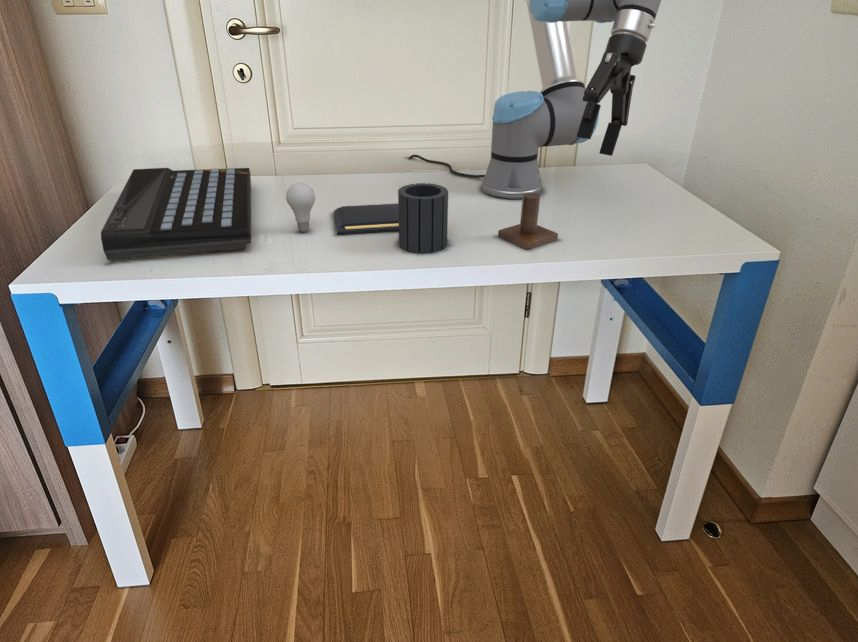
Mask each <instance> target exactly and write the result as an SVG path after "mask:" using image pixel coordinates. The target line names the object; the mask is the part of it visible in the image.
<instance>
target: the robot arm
mask: <svg viewBox="0 0 858 642" xmlns="http://www.w3.org/2000/svg"><path fill="white" fill-rule="evenodd" d="M523 2H525V3H526V7H527V12H528V16H529V18H528V19H529V24H530V28H531V34H532V39H533V44H534V49H535V54H536V61H537V66H538V67H537V68H538V71H539V76H540V83H541V86H542V87H541V90H540V91H537V90H536V91H535V90H526V91H523V90H520V91H514V92H509V93H507V94H503V95H501V96H500V97H498V98H497V99H496V100H495V102H494V104H493V113H492V117H491V120H492V127H491V128H492V129H491V149H490V160H489V163H488V164H487V169H486V172H485V174H469V173H463V172H459V171H456V170H454V169H453V168H452V165H451V164H450V163H447V162H444V161H439V160H432V159H428V158H425V157H423V156H421V155H418V154H411V155H410V156H409V157H408V160H411V159H413V158H417V159H419V160H421V161H423V162H427V163H430V164H437V165H443V166H445V167H448V168H449V172H450V173H452V174H453V175H457V176H461V177H467V178H475V179H478V178H482V181H481V190H482V191H483V193H485V194H487V195H489V196H492V197H495V198H499V199H510V200H522V199H523V194H525V193H536V194H539V195H541V193H542V188H543V182H542V179H541V176H542V172H540V168H539V164H538V154H539V148H545V147H559V146H574V145H576V144H577V145H578V144H583V143H585V142H587V141H589V140H591V139H592V136H593V135H594V133H595V132H596V128H597V126H598V123H599V119H600V110H601V107H602V105H601V104H600V102H601V101H602V100H603V99H604V98H605V96H606V95H607V94H608V92H610V93H611V113H610V114H611V115H610V117H611V119H610V121H609V122H608V123H607V127H606V130H605V133H604V135H603V136H604V137H603V139H602V143H601V146H600V149H599V152H598V153H599V154H600V155H605V156H611V157H612V156H613V155H614V152H615V148H616V145H617V142H618V139H619V135H620V133H621V129H622V126H623V127H627V125H628V122H629V115H630V109H631V101H632V95H633V89H634V85H635V82H636V75H634V74H631V71H632V68H633V67H634V66H638V65H640V64H641V63H642V61H643V59H644V55H645V53H646V50H647V42H648V41H649V39H650V36H651V32H652V30H653V29H654V28H655V27H656V24H655V20H656V17H657V14H658V11H659V9H660V6H661V3H662V0H523ZM589 21H594V22H595V23H598V24H606V23H612V22H613V24H612V26H611V30H610V35H611V36H609V38H608V41H607V43H606V47H605V49H604V52H603V54H602V57H601V60H600V62H599V64H598V66H597V67H596V69H595V71H594V73H593V75H592V77H591V78H590V80H589V82H588V84H587V85H585V82H584V81H582V80H580V79H579V78H578V77H577V72H576V66H575V61H574V57H573V51H572V47H571V40H570V36H569V30H568V29H569V28H568V24H567V22H589Z"/></svg>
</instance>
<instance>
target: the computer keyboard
mask: <svg viewBox="0 0 858 642" xmlns="http://www.w3.org/2000/svg"><path fill="white" fill-rule="evenodd" d="M251 193H252V178H251V170H250V168H249V167H227V168H207V169H180V170H178V169H177V170H173V169H171V168H169V167H157V168H155V167H154V168H153V167H152V168H134V169H132V171H131V174H130V175H129V177H128V179H127V181H126V183H125V185H124V187H123V188H122V190H121V193H120V195H119V197H118V198H117V200H116V202H115V204H114V206H113V208H112V209H111V211H110V214H109V215H108V217H107V219H106V221H105V223H104V225H103V227H102V228H101V231H100V241H101V246H102V251H103V253H104V255H105V257H106V259H107V261H111V260H113V261H115V260H127V259H137V258H150V257H161V256H162V257H164V256H172V255H186V254H198V253H200V254H201V253H209V252H210V253H212V252H223V251H233V250H234V251H235V250H245V249H246V245H247V244H251V243H252V206H251V205H252V194H251Z"/></svg>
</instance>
